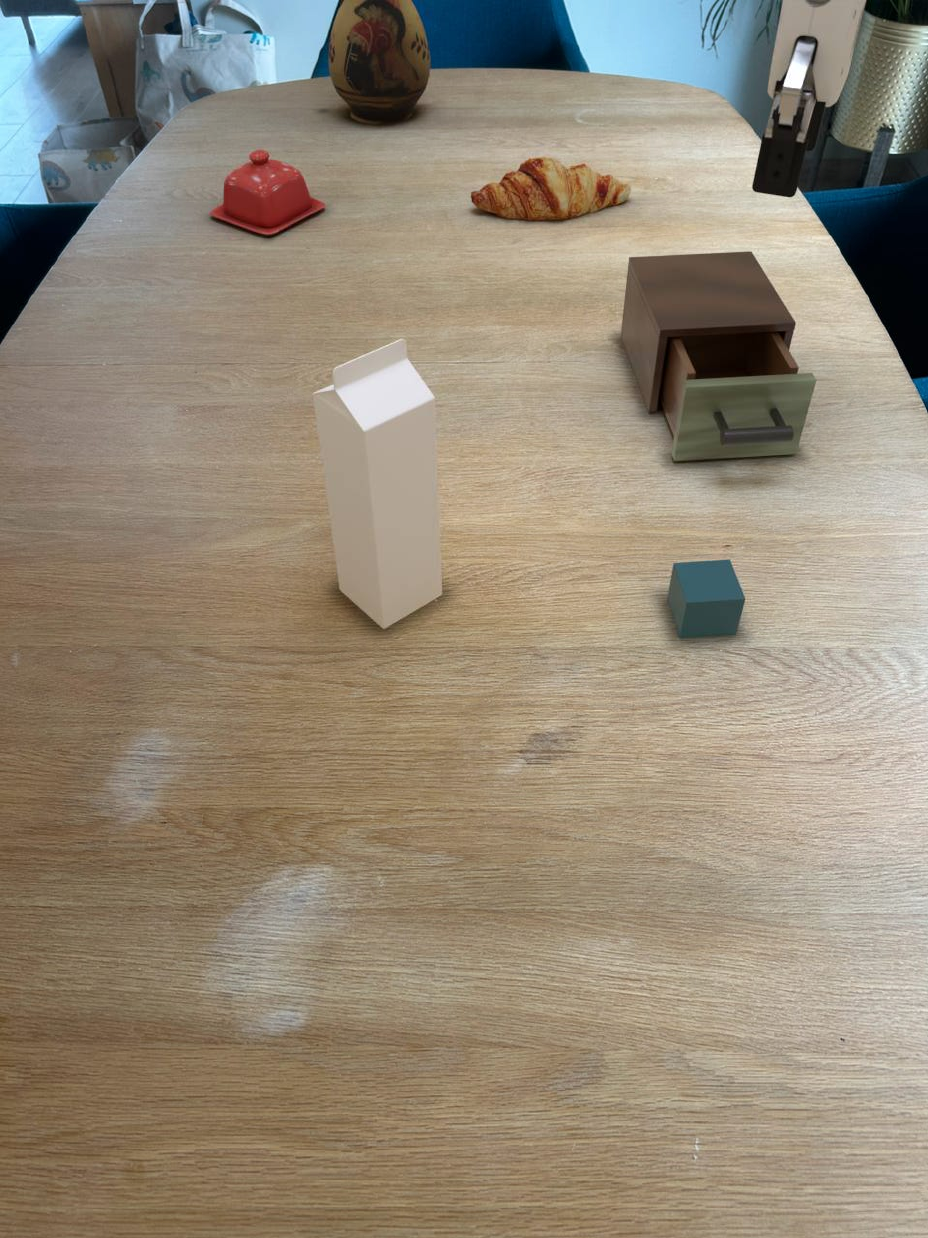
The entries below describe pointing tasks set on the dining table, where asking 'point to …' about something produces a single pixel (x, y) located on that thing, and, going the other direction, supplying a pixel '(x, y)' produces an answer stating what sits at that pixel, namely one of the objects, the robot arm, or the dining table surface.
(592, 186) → the croissant
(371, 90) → the ceramic jug
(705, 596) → the block
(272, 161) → the butter dish
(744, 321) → the cabinet
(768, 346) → the drawer
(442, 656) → the dining table surface
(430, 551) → the milk
